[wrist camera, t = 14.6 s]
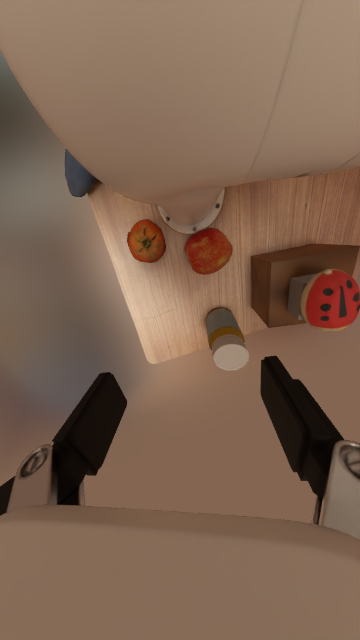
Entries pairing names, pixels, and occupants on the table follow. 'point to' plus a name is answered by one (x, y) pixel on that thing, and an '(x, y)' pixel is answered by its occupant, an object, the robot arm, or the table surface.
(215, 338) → the bottle
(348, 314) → the ladybug figurine
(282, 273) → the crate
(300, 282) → the grey block
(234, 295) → the table surface
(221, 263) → the apple
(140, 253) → the tomato
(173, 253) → the table surface
